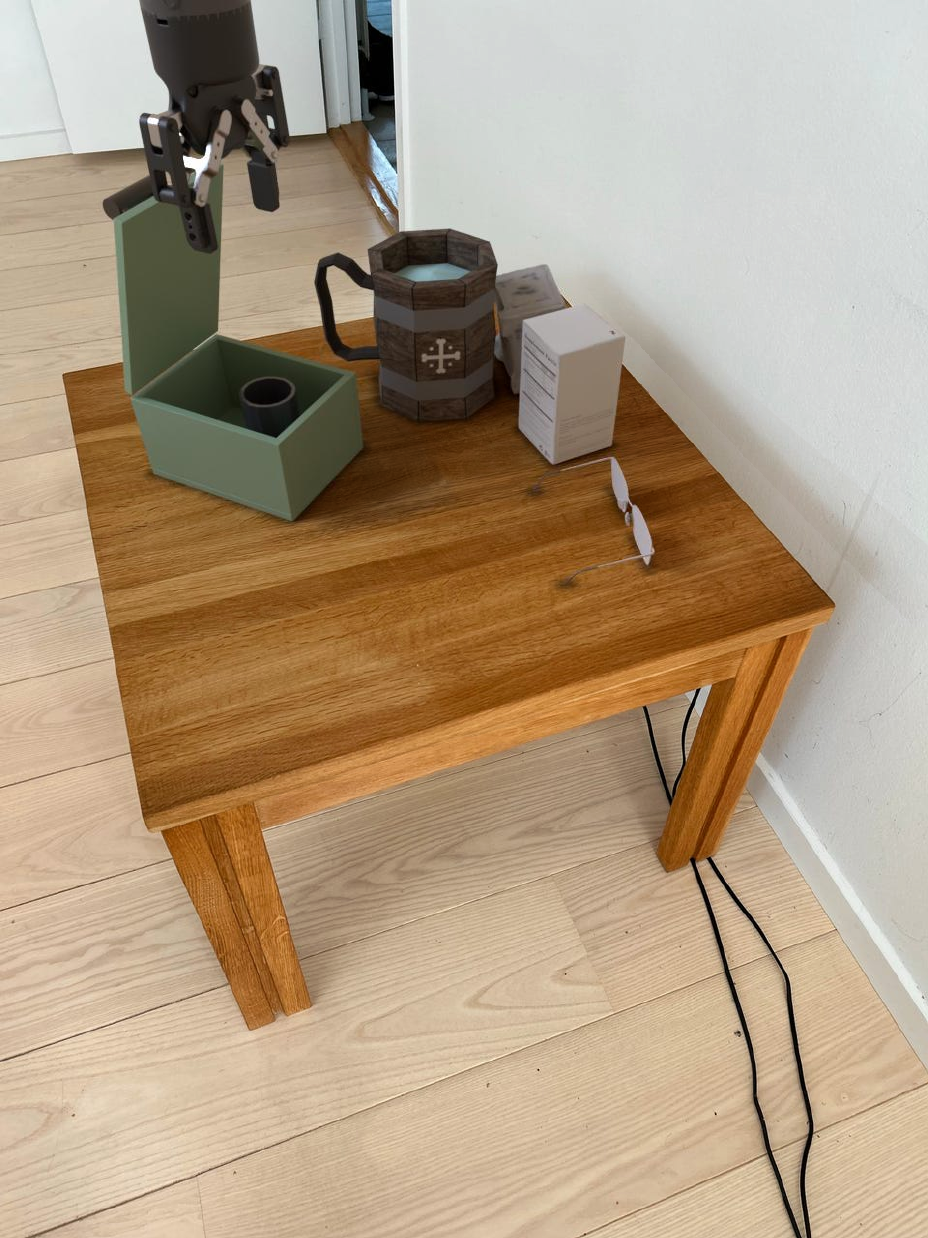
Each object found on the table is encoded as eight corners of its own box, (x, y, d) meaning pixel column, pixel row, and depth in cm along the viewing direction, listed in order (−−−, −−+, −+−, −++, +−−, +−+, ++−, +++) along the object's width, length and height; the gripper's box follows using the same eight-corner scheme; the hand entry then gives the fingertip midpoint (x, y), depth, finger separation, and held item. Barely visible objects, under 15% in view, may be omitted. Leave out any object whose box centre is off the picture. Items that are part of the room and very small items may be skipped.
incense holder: (482, 352, 108) (483, 266, 101) (552, 346, 109) (558, 261, 101) (497, 399, 101) (499, 310, 94) (571, 392, 102) (579, 304, 95)
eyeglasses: (653, 577, 82) (656, 544, 79) (564, 593, 81) (564, 560, 79) (610, 481, 91) (612, 448, 88) (531, 494, 91) (529, 462, 88)
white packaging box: (576, 410, 100) (587, 300, 91) (613, 447, 95) (628, 335, 86) (515, 428, 98) (520, 317, 88) (550, 467, 93) (559, 354, 84)
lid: (224, 164, 80) (173, 137, 81) (122, 223, 72) (66, 193, 72) (218, 330, 94) (175, 307, 94) (132, 395, 86) (85, 369, 86)
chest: (363, 447, 95) (356, 372, 89) (292, 522, 87) (278, 445, 81) (231, 407, 100) (215, 333, 94) (153, 474, 92) (129, 398, 86)
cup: (261, 482, 90) (247, 412, 84) (247, 452, 93) (233, 383, 88) (312, 468, 92) (302, 399, 86) (297, 440, 95) (286, 371, 89)
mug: (509, 364, 106) (513, 235, 95) (479, 431, 97) (481, 296, 86) (347, 342, 110) (334, 215, 99) (305, 404, 101) (285, 272, 90)
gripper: (213, -33, 69) (250, 189, 81) (80, 14, 61) (143, 255, 72) (297, -22, 67) (323, 205, 79) (172, 28, 58) (221, 275, 70)
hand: (237, 229), depth 76 cm, fingers open, 8 cm apart
